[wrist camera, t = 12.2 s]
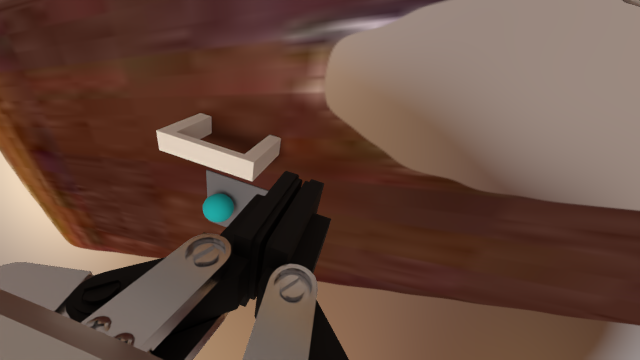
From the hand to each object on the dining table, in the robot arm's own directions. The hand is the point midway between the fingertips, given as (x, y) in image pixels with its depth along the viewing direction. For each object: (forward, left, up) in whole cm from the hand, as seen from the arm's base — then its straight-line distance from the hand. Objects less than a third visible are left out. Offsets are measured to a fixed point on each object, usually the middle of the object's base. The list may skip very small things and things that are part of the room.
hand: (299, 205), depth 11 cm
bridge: (+12, -18, -27) cm, 35 cm away
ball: (+27, -20, -24) cm, 42 cm away
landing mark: (+28, -18, -27) cm, 43 cm away
